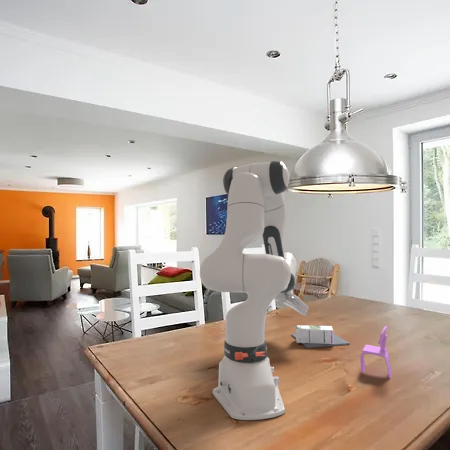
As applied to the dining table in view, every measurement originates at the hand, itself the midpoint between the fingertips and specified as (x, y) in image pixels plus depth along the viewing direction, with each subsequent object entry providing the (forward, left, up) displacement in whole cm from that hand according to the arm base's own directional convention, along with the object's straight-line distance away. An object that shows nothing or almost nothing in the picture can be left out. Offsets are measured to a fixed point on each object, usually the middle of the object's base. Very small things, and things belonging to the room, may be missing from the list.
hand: (304, 314), depth 145 cm
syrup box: (-1, +4, -7) cm, 9 cm away
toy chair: (-34, -9, -11) cm, 37 cm away
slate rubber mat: (0, -6, -11) cm, 13 cm away
